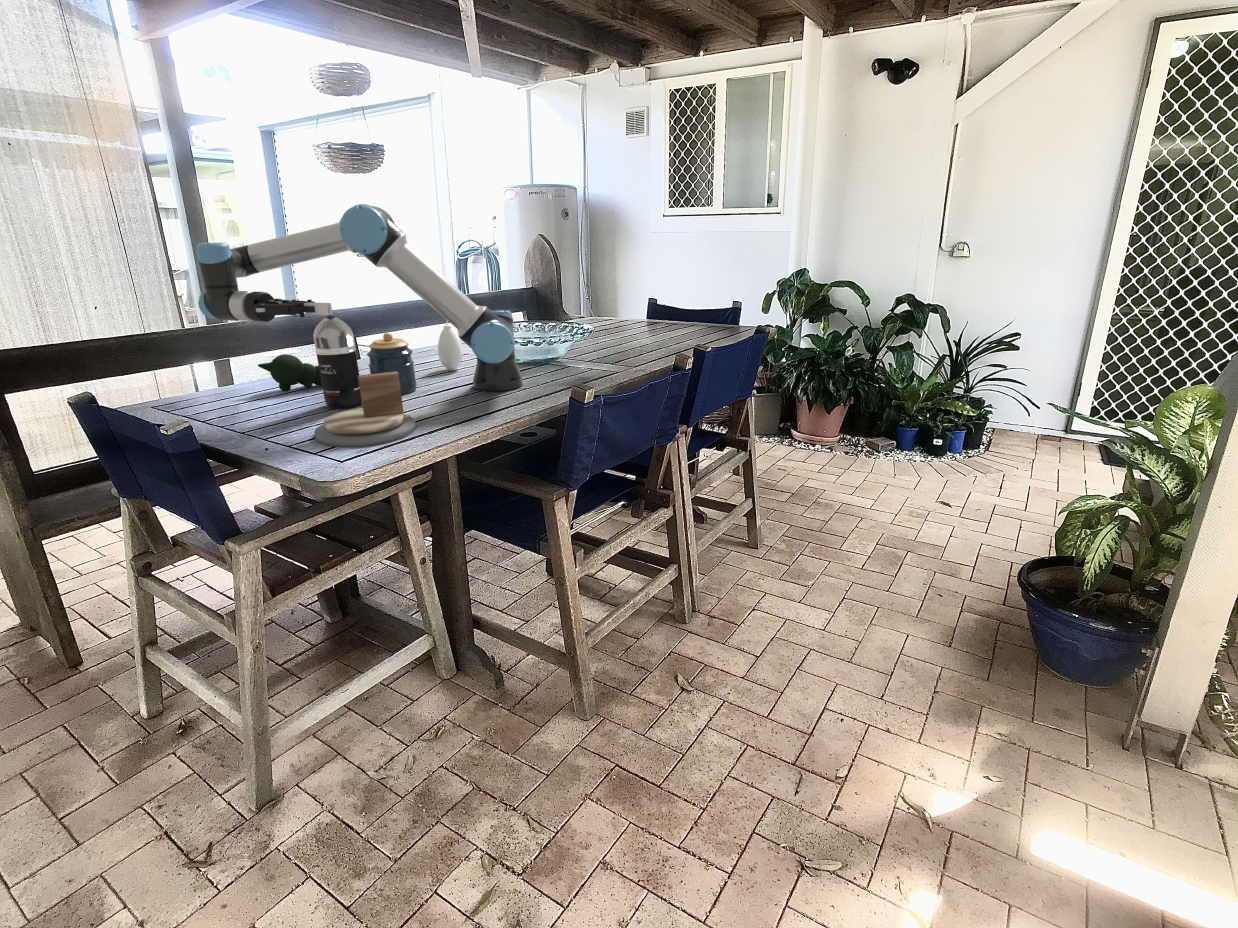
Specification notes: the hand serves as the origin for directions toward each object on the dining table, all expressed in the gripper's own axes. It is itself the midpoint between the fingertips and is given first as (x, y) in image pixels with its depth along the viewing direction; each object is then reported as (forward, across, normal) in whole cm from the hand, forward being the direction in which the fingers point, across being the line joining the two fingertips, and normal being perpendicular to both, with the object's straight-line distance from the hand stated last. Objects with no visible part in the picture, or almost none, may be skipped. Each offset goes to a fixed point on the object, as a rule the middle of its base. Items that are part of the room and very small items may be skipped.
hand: (328, 309), depth 160 cm
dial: (+13, +9, -26) cm, 30 cm away
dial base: (+13, +9, -28) cm, 32 cm away
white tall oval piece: (-6, -60, -28) cm, 67 cm away
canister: (-6, -29, -28) cm, 41 cm away
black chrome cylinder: (-9, -10, -28) cm, 32 cm away
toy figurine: (-35, -25, -28) cm, 51 cm away
